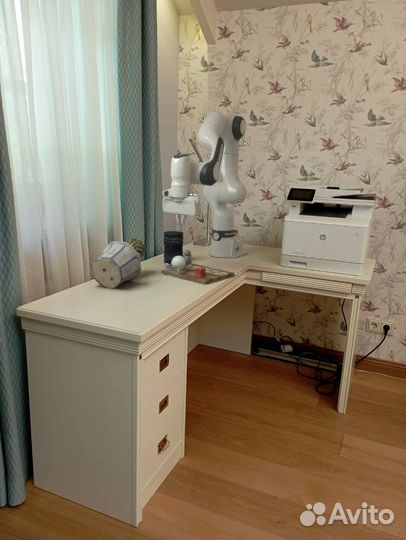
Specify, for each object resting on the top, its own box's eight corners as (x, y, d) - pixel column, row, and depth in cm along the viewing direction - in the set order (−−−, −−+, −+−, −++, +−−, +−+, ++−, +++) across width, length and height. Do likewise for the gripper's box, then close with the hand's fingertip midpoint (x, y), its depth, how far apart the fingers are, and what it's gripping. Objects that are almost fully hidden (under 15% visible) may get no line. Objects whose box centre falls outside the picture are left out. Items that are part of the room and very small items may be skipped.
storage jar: (186, 263, 212) (186, 233, 208) (167, 264, 208) (167, 234, 205) (179, 259, 221) (179, 230, 217) (161, 260, 217) (160, 231, 214)
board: (191, 266, 206) (191, 256, 205) (234, 275, 189) (234, 265, 188) (161, 273, 192) (161, 263, 190) (204, 284, 175) (204, 273, 174)
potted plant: (122, 255, 158) (155, 226, 183) (81, 254, 164) (118, 225, 189) (131, 296, 166) (161, 263, 191) (91, 293, 171) (125, 261, 197)
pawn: (187, 264, 202) (187, 248, 200) (193, 265, 199) (193, 249, 198) (182, 265, 199) (182, 249, 197) (187, 267, 197) (187, 250, 195)
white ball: (178, 267, 195) (178, 253, 194) (188, 270, 191) (188, 255, 190) (168, 269, 191) (168, 255, 189) (178, 272, 187) (178, 258, 185)
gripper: (203, 193, 181) (203, 226, 184) (170, 191, 194) (170, 221, 197) (193, 194, 176) (193, 227, 179) (159, 191, 189) (160, 222, 192)
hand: (181, 224), depth 188 cm, fingers closed
